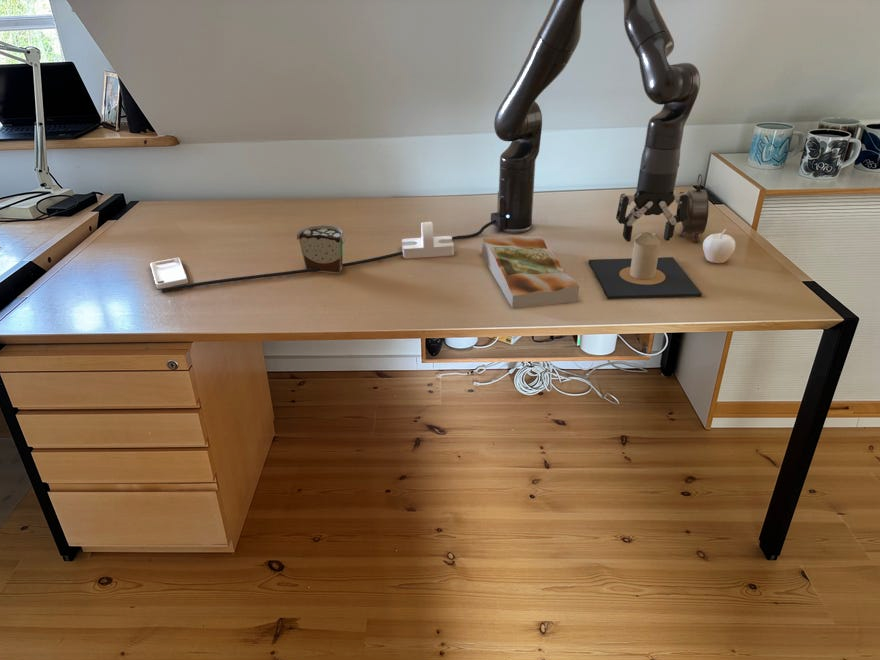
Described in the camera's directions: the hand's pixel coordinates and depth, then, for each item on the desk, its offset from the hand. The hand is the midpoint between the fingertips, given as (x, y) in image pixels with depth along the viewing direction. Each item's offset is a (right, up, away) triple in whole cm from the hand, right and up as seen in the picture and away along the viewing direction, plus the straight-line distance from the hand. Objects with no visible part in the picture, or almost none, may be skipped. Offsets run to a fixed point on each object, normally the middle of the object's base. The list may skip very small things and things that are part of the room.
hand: (646, 240), depth 149 cm
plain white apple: (+21, -3, +12) cm, 24 cm away
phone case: (-113, -6, +19) cm, 115 cm away
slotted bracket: (-48, +1, +24) cm, 54 cm away
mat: (+1, -8, +5) cm, 9 cm away
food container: (-73, -4, +19) cm, 75 cm away
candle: (+1, -7, +4) cm, 9 cm away
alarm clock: (+20, +5, +25) cm, 33 cm away
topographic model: (-25, -7, +9) cm, 28 cm away
